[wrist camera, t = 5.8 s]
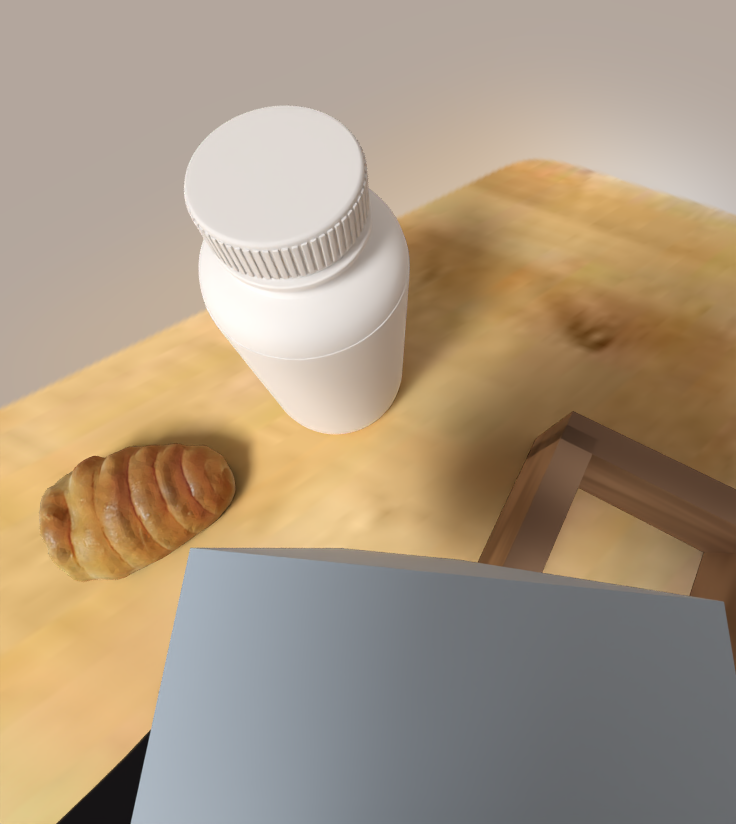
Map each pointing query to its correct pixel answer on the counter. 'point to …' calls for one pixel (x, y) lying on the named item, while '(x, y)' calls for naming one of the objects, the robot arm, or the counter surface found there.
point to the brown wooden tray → (617, 503)
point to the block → (436, 696)
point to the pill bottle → (302, 264)
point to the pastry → (132, 508)
